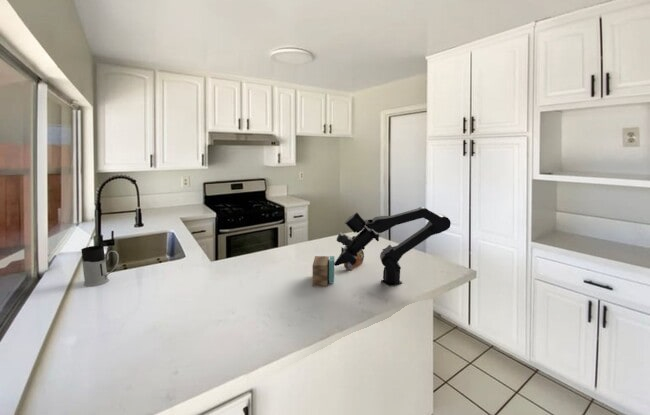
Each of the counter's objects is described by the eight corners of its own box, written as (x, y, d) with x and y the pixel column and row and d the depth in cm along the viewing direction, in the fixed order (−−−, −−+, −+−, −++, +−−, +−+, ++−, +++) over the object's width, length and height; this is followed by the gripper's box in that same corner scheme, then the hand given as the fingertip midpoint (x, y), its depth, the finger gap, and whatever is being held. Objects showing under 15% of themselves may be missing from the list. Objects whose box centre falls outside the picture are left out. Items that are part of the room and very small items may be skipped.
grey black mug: (92, 278, 139) (88, 245, 137) (126, 278, 140) (123, 244, 138) (78, 287, 131) (74, 251, 128) (115, 286, 132) (111, 250, 129)
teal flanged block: (334, 276, 141) (334, 256, 140) (333, 283, 134) (333, 261, 133) (314, 276, 142) (314, 255, 140) (313, 282, 135) (313, 260, 133)
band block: (329, 275, 144) (329, 256, 142) (328, 286, 132) (328, 265, 130) (315, 275, 144) (315, 256, 143) (312, 286, 132) (312, 265, 131)
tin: (347, 272, 148) (348, 254, 147) (342, 270, 150) (342, 253, 149) (364, 263, 160) (364, 247, 159) (358, 262, 162) (359, 246, 161)
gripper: (347, 222, 143) (322, 245, 145) (348, 232, 124) (319, 258, 127) (365, 239, 144) (340, 262, 146) (368, 252, 125) (339, 278, 128)
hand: (334, 264), depth 137 cm, fingers closed, pressing on teal flanged block
